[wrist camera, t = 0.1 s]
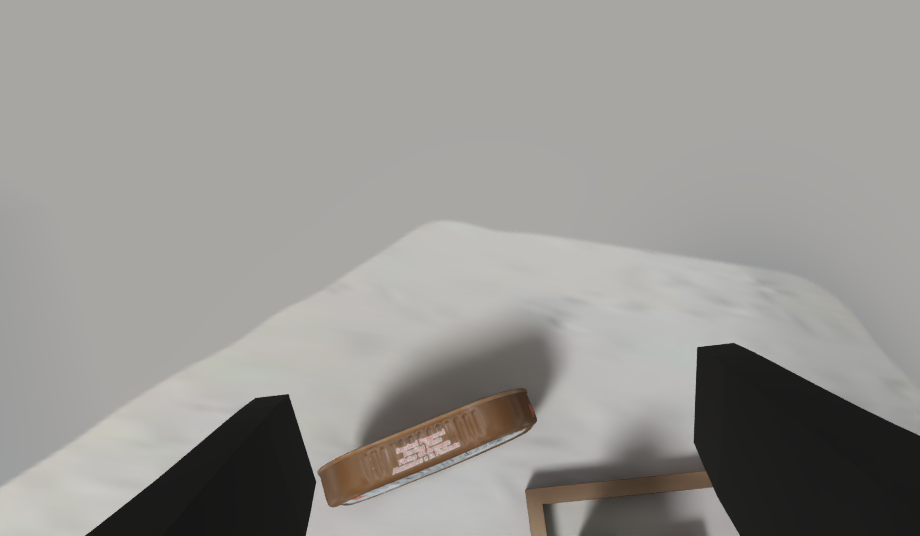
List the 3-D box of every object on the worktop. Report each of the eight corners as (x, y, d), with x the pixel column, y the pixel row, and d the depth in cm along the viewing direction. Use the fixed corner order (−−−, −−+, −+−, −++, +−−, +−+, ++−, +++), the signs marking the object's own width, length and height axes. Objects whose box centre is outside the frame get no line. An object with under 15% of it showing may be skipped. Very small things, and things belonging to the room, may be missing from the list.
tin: (523, 398, 41) (524, 370, 33) (541, 437, 40) (546, 418, 32) (338, 473, 40) (296, 462, 32) (349, 516, 39) (308, 515, 31)
